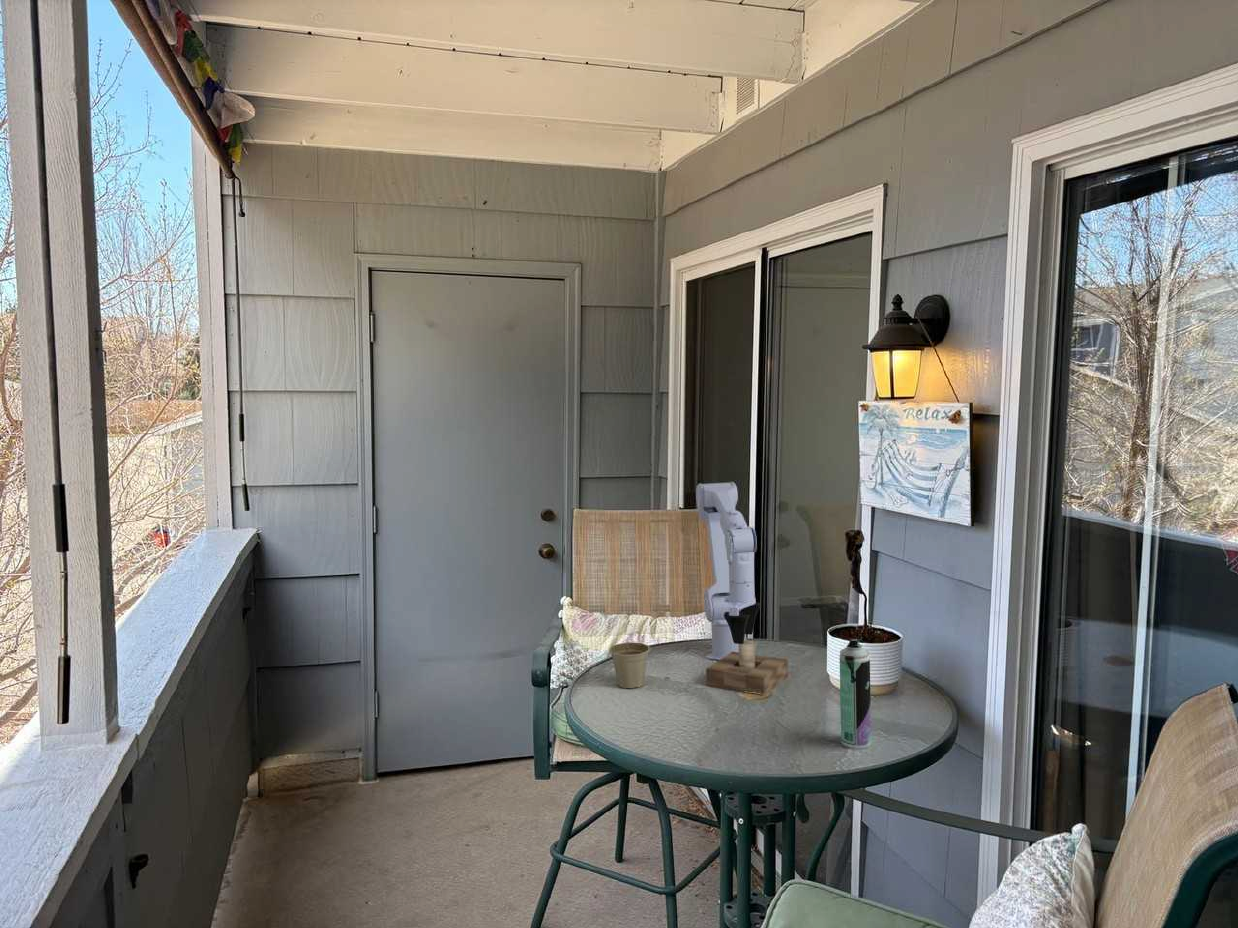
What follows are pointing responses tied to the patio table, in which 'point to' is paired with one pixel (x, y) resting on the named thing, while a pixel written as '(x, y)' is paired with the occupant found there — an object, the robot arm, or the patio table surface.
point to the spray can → (855, 696)
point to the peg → (747, 655)
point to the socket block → (747, 674)
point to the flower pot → (630, 663)
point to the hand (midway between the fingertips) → (743, 638)
